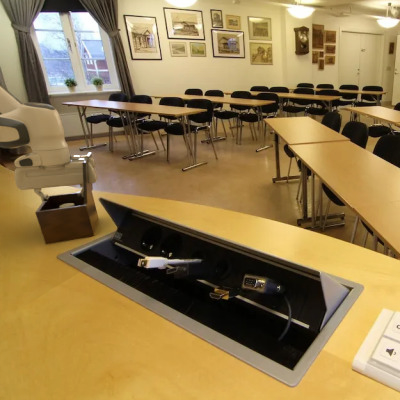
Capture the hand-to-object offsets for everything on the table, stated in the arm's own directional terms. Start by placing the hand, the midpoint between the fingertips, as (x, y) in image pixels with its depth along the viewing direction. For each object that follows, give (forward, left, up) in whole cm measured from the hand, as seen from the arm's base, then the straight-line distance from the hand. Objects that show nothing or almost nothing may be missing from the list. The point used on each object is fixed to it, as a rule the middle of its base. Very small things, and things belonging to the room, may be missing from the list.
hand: (64, 198), depth 104 cm
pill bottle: (0, 0, -11) cm, 11 cm away
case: (0, 0, -12) cm, 12 cm away
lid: (+7, 0, +6) cm, 10 cm away
